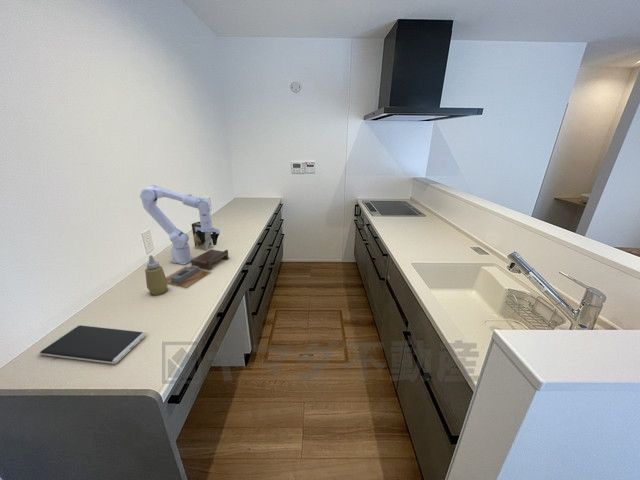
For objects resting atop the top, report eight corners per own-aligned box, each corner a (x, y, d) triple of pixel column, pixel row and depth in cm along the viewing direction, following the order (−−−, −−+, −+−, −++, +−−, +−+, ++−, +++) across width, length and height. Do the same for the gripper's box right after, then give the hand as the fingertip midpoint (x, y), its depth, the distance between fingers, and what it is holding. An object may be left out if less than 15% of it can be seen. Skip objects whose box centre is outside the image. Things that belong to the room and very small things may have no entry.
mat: (160, 281, 128) (160, 280, 128) (186, 267, 142) (185, 266, 142) (186, 287, 123) (186, 287, 123) (210, 272, 137) (210, 272, 137)
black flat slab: (115, 365, 81) (114, 361, 80) (39, 355, 84) (37, 351, 83) (147, 335, 93) (146, 331, 93) (79, 328, 96) (77, 324, 95)
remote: (178, 283, 126) (177, 278, 125) (171, 282, 127) (170, 276, 126) (199, 270, 138) (199, 266, 137) (193, 269, 139) (192, 264, 138)
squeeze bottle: (173, 288, 122) (165, 253, 116) (157, 298, 115) (149, 261, 109) (159, 285, 125) (152, 250, 118) (144, 294, 117) (135, 258, 111)
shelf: (191, 266, 143) (190, 257, 141) (212, 255, 158) (210, 246, 155) (209, 270, 140) (208, 260, 138) (228, 258, 154) (227, 249, 152)
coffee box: (194, 247, 167) (190, 223, 161) (202, 244, 173) (198, 221, 167) (205, 250, 164) (202, 225, 158) (213, 246, 170) (210, 223, 164)
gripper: (189, 221, 143) (193, 244, 148) (212, 224, 139) (215, 248, 144) (198, 218, 149) (202, 240, 154) (220, 221, 146) (223, 243, 150)
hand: (209, 244), depth 150 cm, fingers open, 7 cm apart
